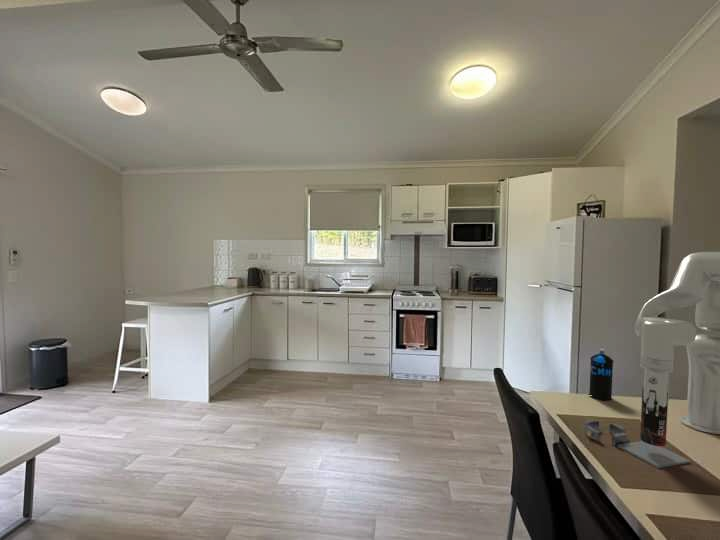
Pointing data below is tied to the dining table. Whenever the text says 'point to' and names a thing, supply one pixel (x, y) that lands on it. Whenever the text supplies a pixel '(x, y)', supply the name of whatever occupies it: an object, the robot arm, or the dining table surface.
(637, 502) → the dining table surface
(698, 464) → the dining table surface
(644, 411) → the deodorant
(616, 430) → the collar
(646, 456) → the coaster
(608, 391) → the aerosol can
